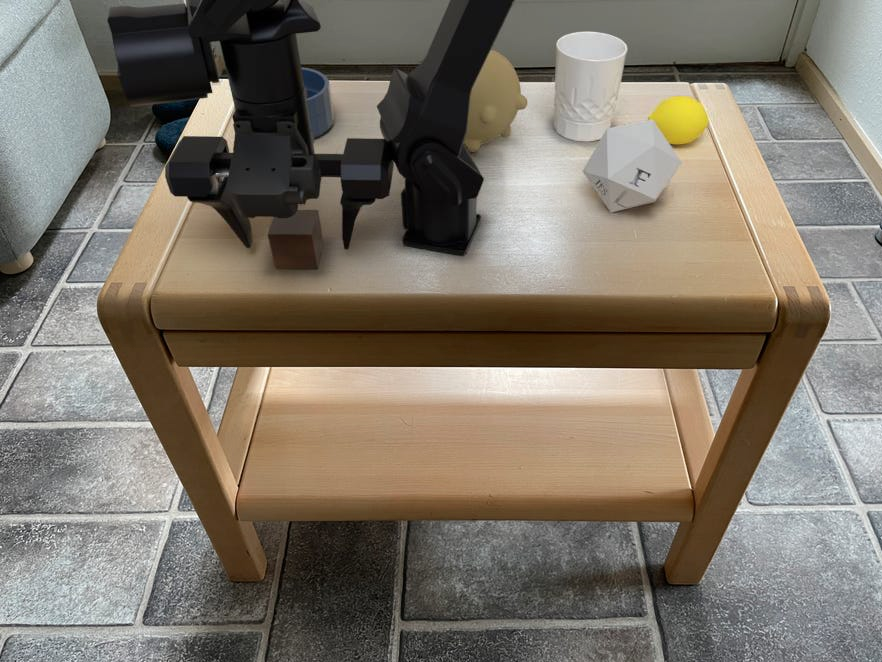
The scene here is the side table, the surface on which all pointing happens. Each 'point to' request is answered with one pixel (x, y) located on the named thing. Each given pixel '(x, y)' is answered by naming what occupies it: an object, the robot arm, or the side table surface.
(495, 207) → the side table surface
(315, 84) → the bowl
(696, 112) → the lemon
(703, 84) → the side table surface
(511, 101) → the toy pig
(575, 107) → the white cup
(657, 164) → the die
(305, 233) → the block
